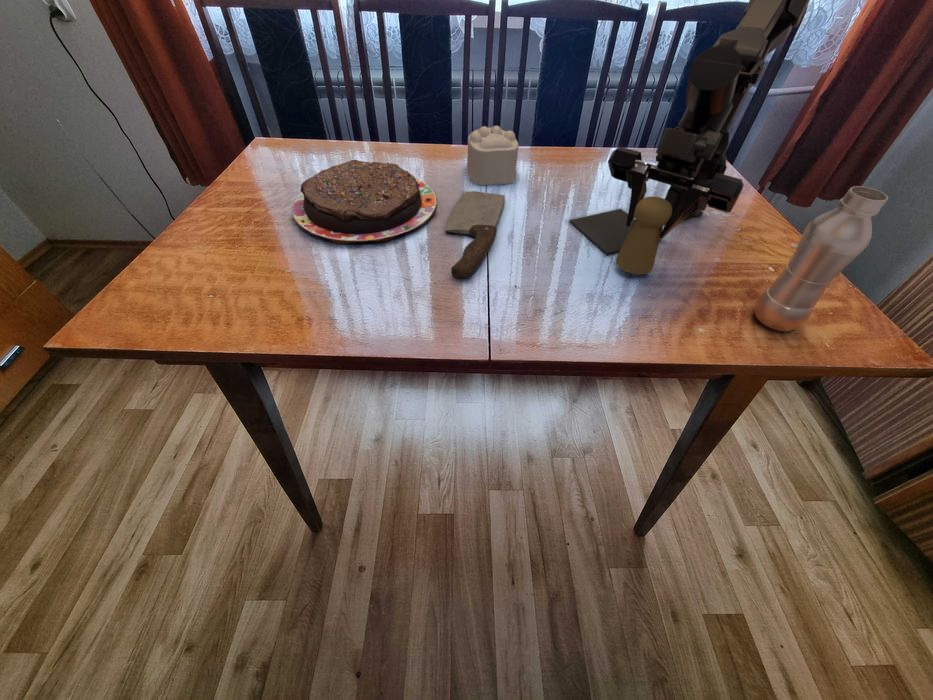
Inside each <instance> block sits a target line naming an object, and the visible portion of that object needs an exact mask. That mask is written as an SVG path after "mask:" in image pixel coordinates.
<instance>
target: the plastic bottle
mask: <svg viewBox="0 0 933 700" xmlns="http://www.w3.org/2000/svg"><path fill="white" fill-rule="evenodd" d="M888 200H889V196H888V194H886V193H884V192H882V191H881V190H878V189H875V188H872V187H868V186H862V185H861V186H860V185H858V186H857V185H854V186H852V187H850V188H849V189H848V191H846V193H845V195H844V196H843V197H841V198H840V200H839V201H838V207H836V208H833V209H830V210H828V211H826V212H823V213H822V214H820V215H818V216H816V217H814V219H812V220H811V221H810V222H809V223H807V226H806V227H805V229H804V231H803V233H802V235H801V237H800V239H799V242H798V244H797V246H796V248H795V250H794V252H793V253H792V255H791V257H790V258H789V259H788V262H787V263H786V265H785V267H784V268H783V270H782V271H781V272H780V274H779V275H778V276H777V277H776V279H775V280H774V281H773V282H772V283H771V285H770V286H768V287H767V288H766V289H765V290H764V291H763V292H762V293H761V294H760V296H759V297H758V298H757V300H756V303H755V305H754V308H753V309H754V316H755V317H756V319H757V320H758V321H759V323H761V324H762V325H764V326H765V327H768V328H770V329H772V330H775V331H779V332H790V331H793V330H797V329H800V328H801V327H802V326H803V325H804V324H806V323H807V322H808V321H809V320H810V318H811V316H812V314H813V312H814V310H815V308H816V305H817V304H818V302H819V300H820V299H821V298H822V296H823V294H824V293H825V291H826V290H827V289H828V287H829V286H830V284H831V283H833V281H834V280H835V279H836V278H837V277H838V276H839V274H840V273H841V272H842V271H843V270H844V269H845V268H846V267H848V266H849V264H851V263H852V262H853V261H854V260H855V259H856V258H857V257H858V256H859V255H860V254H861V253H863V252H864V250H865V249H866V248H867V247H868V246H869V245H870V242H871V240H872V236H873V222H872V217H875V216H877V215H878V214H879V212H881V209H882V207H883V206H884V205H885V204H886V203H887V202H888Z"/></svg>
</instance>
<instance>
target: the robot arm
mask: <svg viewBox="0 0 933 700" xmlns="http://www.w3.org/2000/svg"><path fill="white" fill-rule="evenodd" d="M809 4H810V0H749V1H748V3H747V5H746V8H745V9H744V12H743V17H742V19H741V20H740V22H739V24H738V25H737V26H736V28H735V29H733V30H730V31H727V32H725V33H723V34H721V35H720V36H719V38H717V40H716V41H715V43H714V44H713V45H712V47H709V48H707V49H705V50H703V51H702V52H701V53H700V54H698V55H697V56H696V57H695V58H694V59H693V61H692V62H691V64H690V67H689V69H688V70H689V71H688V78H687V86H686V87H687V88H686V97H685V106H686V108H685V110H684V112H683V114H682V116H681V118H680V120H679V122H678V124H677V125H676V126H675V128H672V127H666V128H665V130H664V132H663V135H662V137H661V139H660V141H659V144H658V146H657V148H656V151H655V154H656V156H655V162H657V164H656V165H654V164H652V163H649V162H646V161H643V158H642V152H641V151H638V150H635V149H630V148H626V147H623V146H618V147H617V148H616V149H614V150H613V151H612V152H611V154H610V156H609V158H608V160H607V165H608V169H609V172H610V176H611V177H612V178H613V179H615V180H619V181H622V182H625V183H626V184H627V187H628V188H629V189H630V200H629V207H628V212H627V214H628V217H627V223H626V226H627V227H630V225H631V223H632V222H633V220H634V219H635V216H634V212H635V208H636V205H637V204H638V202H640V201H641V200H642V199H643V198H645V197H646V194H647V191H648V188H647V182H649V180H651V181H654V182H659V183H662V184H666V185H669V188H668V190H667V192H666V194H665V197H664V199H665V200H667V201H668V202H669V203H670V204H671V206H672V215H671V217H670V219H669V220H668V222H667V223H666V224H665V225H664V226H663V228H662V232H661V234H660V236H659V238H660V239H661V240H662V239H664V238H665V237H666V236H667V235H668V234H669V233H670V232H671V231H672V230H673V229H675V228H676V227H677V226H678V225H679V224H680V223H681V222H683V221H684V220H688V219H692V218H696V217H701V216H702V215H703V214H704V211H706V209H707V207H708V208H710V209H713V210H718V211H721V212H723V213H731V212H732V210H733V209H734V206H735V205H736V203H737V202H738V199H739V198H740V196H741V194H742V191H743V188H744V187H745V185H744V182H743V179H742V178H738V177H734V176H730V175H726V174H725V173H726V171H727V168H728V167H727V159H728V157H727V156H726V154H727V150H728V146H729V143H730V140H729V139H730V132H729V129H730V127H731V125H732V124H733V121H734V119H735V118H736V115H737V114H738V112H739V110H740V108H741V106H742V104H743V102H744V100H745V98H746V96H747V94H748V93H749V91H750V89H751V88H752V87H753V86H755V85H756V84H757V83H758V82H759V81H760V80H761V78H762V76H763V75H764V72H765V70H766V68H765V64H766V62H765V60H766V58H767V56H768V55H769V54H770V53H772V52H773V51H775V50H776V49H777V48H779V47H780V46H781V45H783V44H784V43H786V41H787V39H788V37H789V35H790V33H791V32H792V29H793V28H798V26H799V24H800V23H801V21H802V19H803V17H804V15H805V12H806V10H807V9H808V6H809Z"/></svg>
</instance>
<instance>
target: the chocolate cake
mask: <svg viewBox="0 0 933 700" xmlns="http://www.w3.org/2000/svg"><path fill="white" fill-rule="evenodd" d="M299 191H300V192H301V193H299V194H298V196H297V197H296V198H295V199H294V201H293V204H292V207H291V209H292V211H291V212H292V216H293V220H294V221H295V223H296V224H297V225H298V226H299V227H300V228H301V229H302V230H305V231H306V232H308V233H310V234H312V235H314V236H317V237H321V238H324V239H327V240H329V241H331V242H332V243H334V244H336V245H348V244H354V243H359V244H364V243H367V242H371V241H373V242H375V243H378V242H381V243H388V242H390V241H392V240H393V239H395V238H396V237H398V236H400V235H404V234H406V233H408V232H411V231H413V230H416V229H418V228H419V227H421V226H422V225H423V224H425V223H426V222H427V221H428V220H429V219H430V218H431V217H434V215H435V212H436V209H437V204H438V202H437V196H436V194H435V192H434V190H433V189H432V187H430V186H429V184H427V183H426V182H424V181H423V180H420V179H419V178H417V177H415V176H414V175H413V174H411V172H409V171H408V170H406V169H404V168H402V167H400V166H399V164H397V163H393V162H391V163H390V162H386V163H384V162H381V161H372V162H370V161H362V160H358V159H351V160H349V161H346V162H343V163H339V164H336V165H333V166H330V167H328V168H325V169H321V170H320V171H319V172H317V173H316V174H313V176H311V177H309V178H307V179H305V180H304V181H302V183H301V184H300V190H299Z"/></svg>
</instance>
